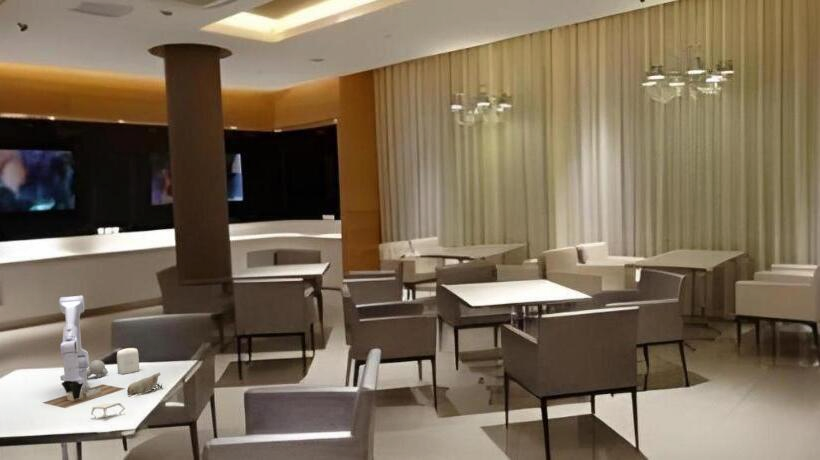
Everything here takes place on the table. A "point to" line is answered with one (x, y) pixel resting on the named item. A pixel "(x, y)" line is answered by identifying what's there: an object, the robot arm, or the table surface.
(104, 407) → the white arched legged piece
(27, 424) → the table surface
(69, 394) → the plug
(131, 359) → the photo printer
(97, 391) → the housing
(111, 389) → the base board
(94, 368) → the round bodied animal figurine
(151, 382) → the decorative bird
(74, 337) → the robot arm
